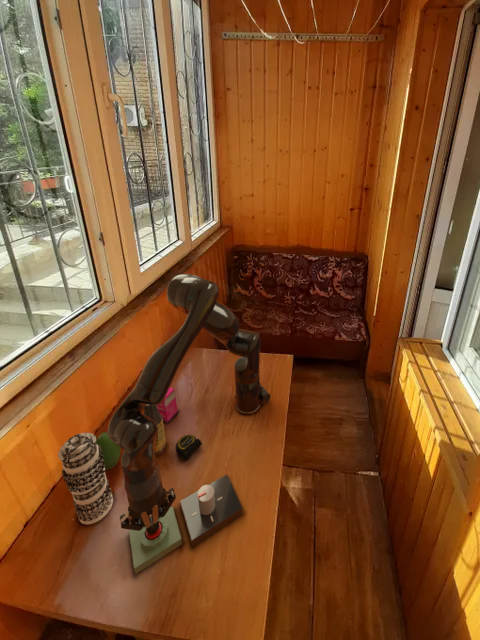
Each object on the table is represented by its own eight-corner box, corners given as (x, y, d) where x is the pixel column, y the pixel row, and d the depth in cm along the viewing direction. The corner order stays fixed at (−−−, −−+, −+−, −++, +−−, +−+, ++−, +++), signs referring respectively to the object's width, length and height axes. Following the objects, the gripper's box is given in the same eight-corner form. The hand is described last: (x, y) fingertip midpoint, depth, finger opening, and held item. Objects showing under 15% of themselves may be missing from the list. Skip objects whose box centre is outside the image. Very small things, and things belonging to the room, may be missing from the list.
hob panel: (227, 479, 94) (227, 473, 94) (242, 513, 86) (242, 507, 85) (180, 506, 87) (179, 500, 86) (192, 547, 79) (191, 540, 78)
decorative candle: (119, 507, 87) (102, 441, 78) (81, 534, 81) (59, 467, 72) (108, 483, 93) (92, 420, 84) (72, 507, 87) (50, 442, 78)
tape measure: (186, 464, 99) (185, 456, 97) (172, 453, 102) (171, 445, 101) (202, 448, 104) (201, 439, 103) (188, 437, 108) (187, 429, 106)
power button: (160, 522, 81) (159, 518, 81) (163, 536, 79) (162, 532, 78) (145, 531, 80) (144, 527, 79) (148, 546, 77) (147, 541, 76)
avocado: (119, 448, 104) (113, 421, 100) (125, 466, 98) (119, 438, 94) (92, 463, 99) (84, 435, 95) (96, 482, 93) (88, 454, 89)
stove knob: (212, 494, 88) (211, 480, 86) (217, 509, 84) (216, 495, 82) (197, 503, 86) (195, 488, 84) (201, 518, 82) (199, 504, 80)
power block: (173, 511, 86) (171, 501, 85) (182, 544, 79) (180, 534, 78) (130, 536, 81) (127, 526, 79) (135, 574, 74) (132, 564, 72)
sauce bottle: (159, 458, 100) (151, 411, 94) (142, 455, 102) (132, 408, 95) (170, 441, 106) (163, 395, 100) (154, 437, 108) (146, 392, 101)
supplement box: (155, 418, 115) (150, 394, 111) (166, 406, 120) (162, 383, 116) (167, 423, 113) (163, 399, 109) (178, 411, 118) (175, 387, 114)
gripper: (113, 515, 66) (126, 564, 72) (176, 481, 73) (184, 528, 79) (110, 484, 72) (122, 532, 78) (169, 455, 79) (176, 501, 85)
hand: (153, 530), depth 78 cm, fingers closed
